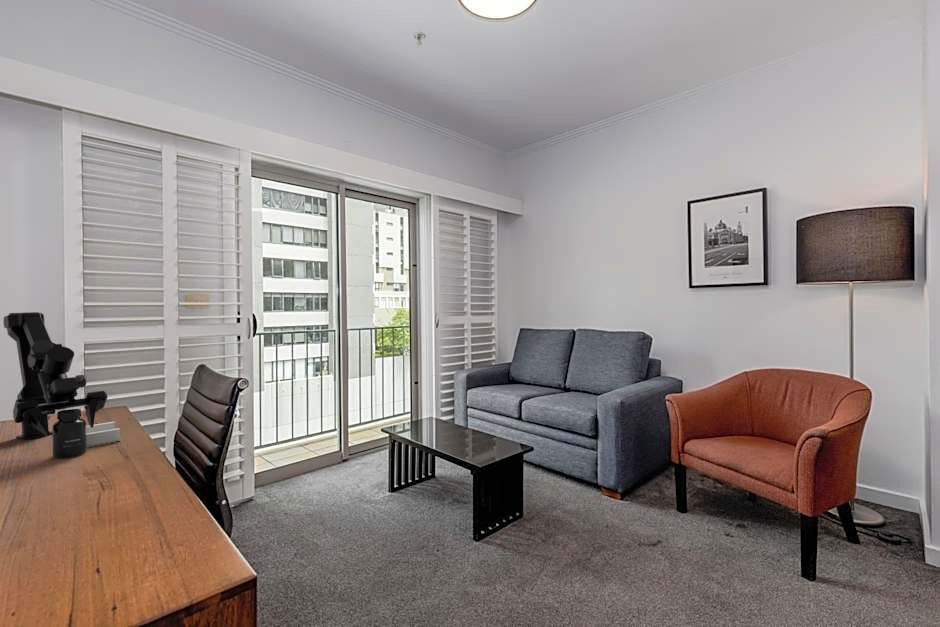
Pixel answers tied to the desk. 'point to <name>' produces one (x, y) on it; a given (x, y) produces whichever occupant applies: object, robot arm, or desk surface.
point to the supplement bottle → (69, 434)
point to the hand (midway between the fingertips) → (70, 430)
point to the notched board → (102, 434)
